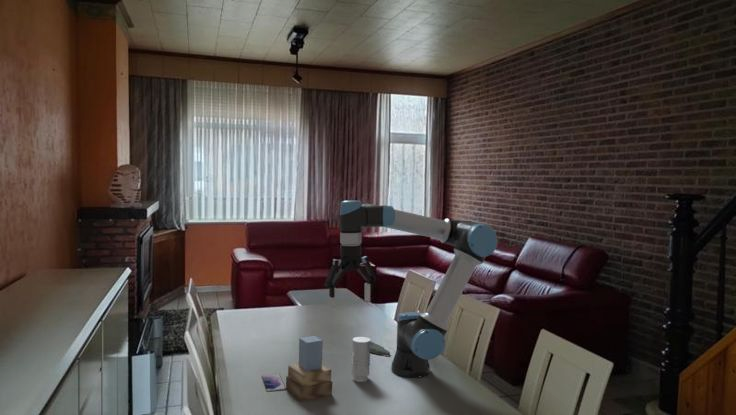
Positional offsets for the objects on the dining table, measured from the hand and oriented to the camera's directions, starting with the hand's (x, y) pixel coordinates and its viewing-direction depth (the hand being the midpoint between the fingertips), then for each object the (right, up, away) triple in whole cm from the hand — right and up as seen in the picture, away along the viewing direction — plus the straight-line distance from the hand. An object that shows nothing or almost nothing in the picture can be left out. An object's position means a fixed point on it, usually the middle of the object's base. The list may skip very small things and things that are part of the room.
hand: (351, 304), depth 187 cm
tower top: (-15, -26, -2) cm, 30 cm away
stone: (+9, -29, +44) cm, 54 cm away
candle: (+3, -30, +11) cm, 33 cm away
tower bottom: (-15, -31, -2) cm, 34 cm away
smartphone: (-28, -30, +5) cm, 42 cm away
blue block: (-14, -22, -2) cm, 26 cm away
